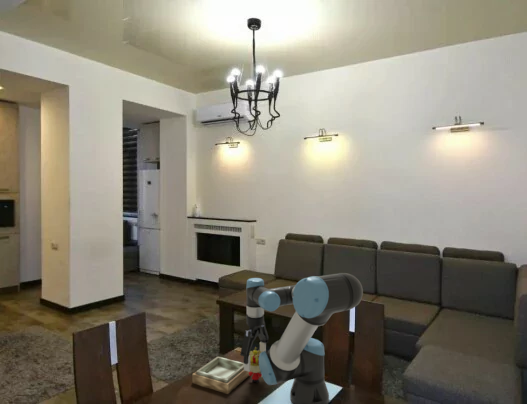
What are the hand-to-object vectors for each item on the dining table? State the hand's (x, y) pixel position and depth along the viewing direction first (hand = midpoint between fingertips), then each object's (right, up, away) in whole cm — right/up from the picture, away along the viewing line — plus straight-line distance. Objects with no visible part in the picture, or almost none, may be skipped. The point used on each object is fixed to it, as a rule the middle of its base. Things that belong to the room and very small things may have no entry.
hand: (255, 363), depth 155 cm
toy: (0, -8, 0) cm, 8 cm away
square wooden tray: (-14, -8, +2) cm, 17 cm away
